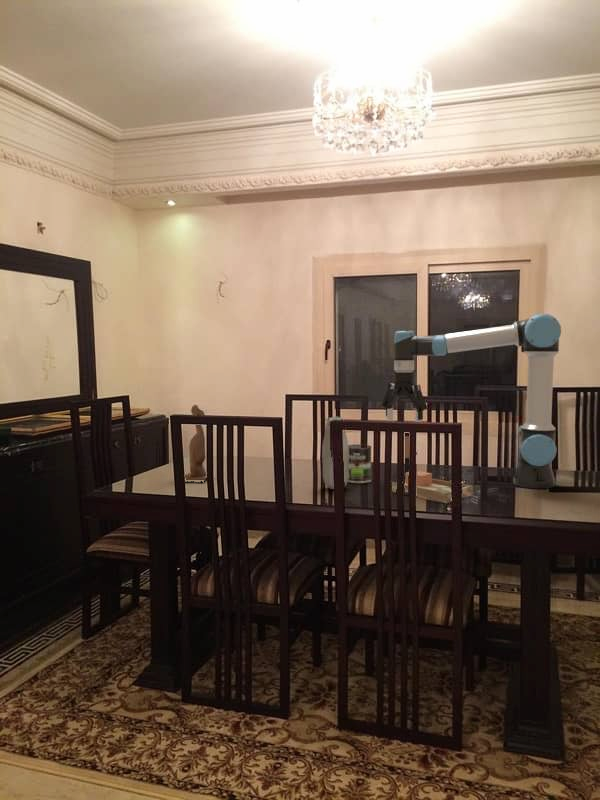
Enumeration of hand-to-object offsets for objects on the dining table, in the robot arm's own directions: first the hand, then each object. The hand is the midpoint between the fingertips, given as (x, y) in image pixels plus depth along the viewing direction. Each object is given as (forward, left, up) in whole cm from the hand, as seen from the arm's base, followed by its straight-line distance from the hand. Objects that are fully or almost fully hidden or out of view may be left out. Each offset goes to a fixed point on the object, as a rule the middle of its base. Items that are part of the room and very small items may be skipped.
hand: (403, 426), depth 241 cm
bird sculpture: (+50, -69, -24) cm, 89 cm away
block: (-1, +6, -21) cm, 22 cm away
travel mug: (-15, -10, -24) cm, 30 cm away
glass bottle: (+21, -16, -24) cm, 35 cm away
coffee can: (+4, -20, -24) cm, 31 cm away
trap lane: (+2, +13, -23) cm, 27 cm away
